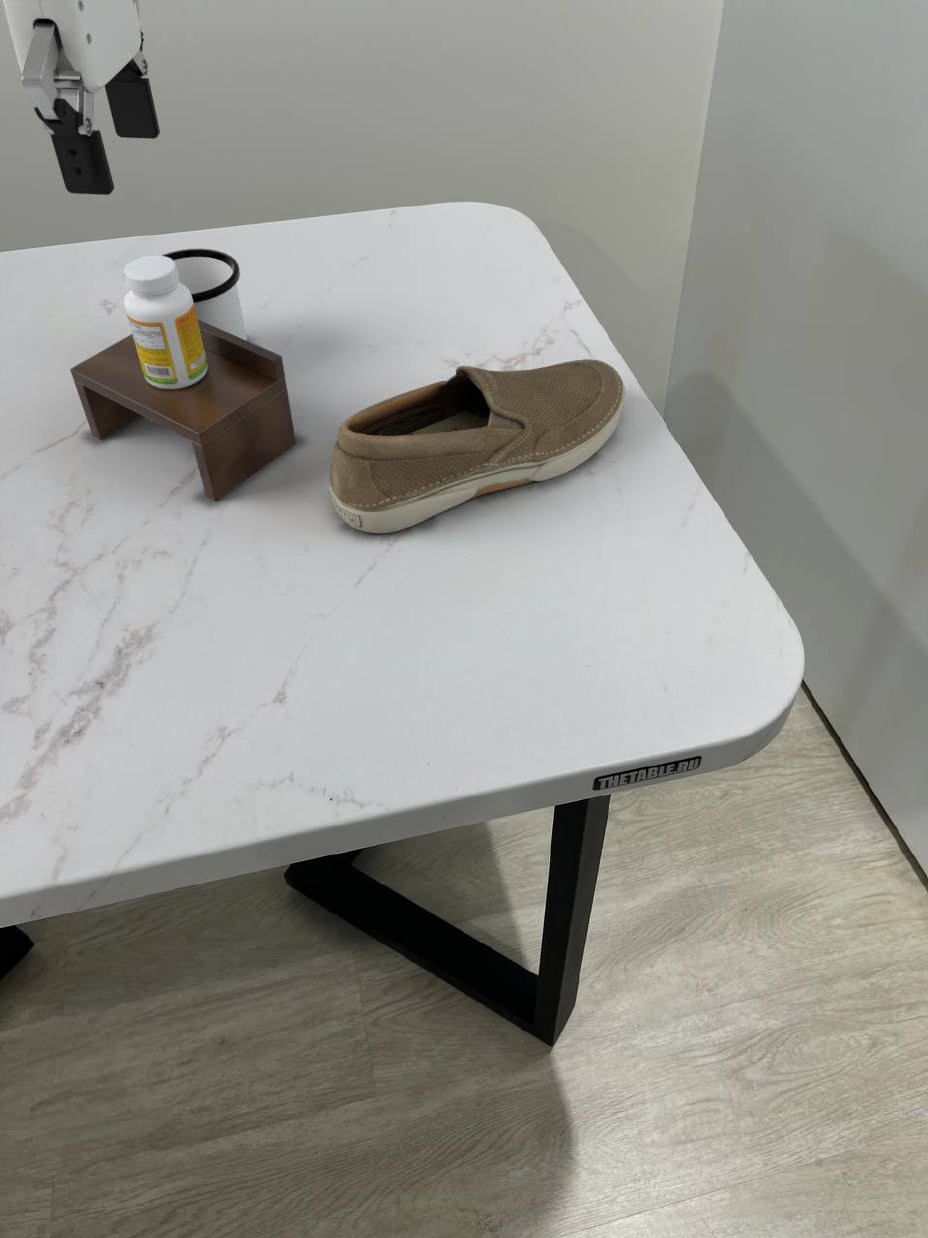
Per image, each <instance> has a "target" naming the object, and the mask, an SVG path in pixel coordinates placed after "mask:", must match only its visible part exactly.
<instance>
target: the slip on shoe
mask: <svg viewBox="0 0 928 1238" xmlns="http://www.w3.org/2000/svg"><path fill="white" fill-rule="evenodd" d="M624 383H625V382H624V381H623V379H622V377H621V376H620V374H619V372H618V371H617V370H616V368H615V367H613V366H611V365H610V364H608V363H607V362H605V361H602V360H598V359H589V358H587V359H586V358H585V359H575V360H571V361H565V362H559V363H555V364H551V365H548V366H543V367H537V368H532V369H521V370H519V369H518V370H509V371H508V370H505V371H503V370H501V371H500V370H489V369H484V368H480V367H475V366H471V365H460V366H458V367H457V368H456V369H455V374H454V375H452V376H451V377H449V378H448V379H447V380H440V381H437V382H433V383H431V384H428V385H424V386H421V387H417V388H415V389H412V390H408V391H406V392H402V393H400V394H397V395H394V396H392V397H389V398H387V399H385V400H382V401H379V402H377V403H374V404H372V405H370V406H367V407H365V408H363V409H362V410H360V411H357V412H356V413H354V414H353V415H350V416H349V417H348V418H346V419H345V420H344V421H343V422H342V423H341V425H340V427H339V429H338V431H337V440H336V441H335V443H334V445H333V448H332V453H331V459H330V460H331V461H330V465H329V466H330V467H329V473H328V479H329V487H328V488H329V491H330V498H331V501H332V504H333V507H334V509H335V511H336V512H337V514H338V515H339V516H340V518H341V519H342V520H343V521H344V522H345V523H346V524H348V525H349V526H350V527H351V528H353V529H356V530H358V531H361V532H365V533H370V534H388V533H396V532H399V531H403V530H405V529H408V528H411V527H413V526H415V525H418V524H420V523H422V522H424V521H426V520H428V519H430V518H432V517H434V516H436V515H438V514H440V513H443V512H445V511H447V510H449V509H451V508H454V507H456V506H458V505H461V504H463V503H464V502H467V501H468V500H471V499H474V498H477V497H479V496H483V495H485V494H490V493H493V492H498V491H502V490H507V489H510V488H513V487H517V486H521V485H525V484H530V483H531V482H543V481H548V480H550V479H554V478H556V477H559V476H562V475H564V474H566V473H568V472H571V471H572V470H573V469H576V468H577V467H578V466H580V465H582V464H583V463H584V462H587V460H588V459H590V458H591V457H592V456H593V455H595V454H596V453H597V452H598V451H599V450H600V449H601V448H603V446H604V445H605V444H606V443H607V441H608V440H610V438H611V436H612V435H613V433H614V432H615V430H616V428H617V427H618V425H619V422H620V420H621V417H622V414H623V410H624V407H625V399H626V387H625V384H624Z"/></svg>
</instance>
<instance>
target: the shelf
mask: <svg viewBox="0 0 928 1238" xmlns="http://www.w3.org/2000/svg"><path fill="white" fill-rule="evenodd" d="M197 320H198V319H197ZM198 325H199V329H200V334H201V338H202V342H203V347H204V351H205V355H206V360H207V372H206V374H205V375H204V377H203V378H202V379H200V380H199V381H198V382H196V383H194V384H192V385H190V386H187V387H184V388H180V389H161V388H158V387H155V386H153V385H151V384H150V383H148V382H147V380H146V379H145V376H144V373H143V370H142V367H141V363H140V359H139V356H138V352H137V349H136V345H135V342H134V338H133V335H132V333H131V334H129V335H128V336H126V337H124V338H122V339H121V340H119V341H116V342H115V343H113V344H112V345H109V346H108V347H106V348H105V349H103V350H101V351H100V352H97V353H95V354H94V355H92V356H90V357H88V358H86V359H85V360H83V361H82V362H80V363H78V364H76V365H74V366H73V367H71V368H70V369H69V371H70V374H71V376H72V377H71V378H72V380H73V383H74V386H75V389H76V391H77V394H78V396H79V400H80V403H81V406H82V409H83V412H84V414H85V418H86V421H87V424H88V427H89V429H90V432H91V435H92V436H93V437H95V438H96V439H98V440H103V439H104V438H106V437H107V436H109V435H110V434H112V433H115V431H117V430H118V429H120V428H122V427H123V426H125V425H127V424H128V423H129V422H132V421H133V420H134V419H137V417H139V416H142V417H144V418H146V419H148V420H149V421H151V422H154V423H156V424H158V425H160V426H162V427H164V428H166V429H168V430H169V431H172V432H174V433H176V434H178V435H179V436H181V437H183V438H185V439H187V440H189V441H191V444H192V448H193V452H194V456H195V459H196V462H197V468H198V471H199V475H200V480H201V483H202V487H203V491H204V494H205V497H206V498H208V499H209V500H212V501H214V502H217V501H218V500H219V499H221V498H223V496H225V495H226V494H228V493H230V492H231V491H232V490H233V489H234V488H237V486H239V485H240V484H242V483H243V482H244V481H246V480H247V479H248V478H250V477H251V476H253V475H254V474H256V473H257V472H258V471H260V470H261V469H262V468H264V467H265V466H266V465H268V464H269V463H270V462H272V461H273V460H275V459H276V458H278V457H279V456H280V455H282V454H283V453H284V452H286V451H287V450H289V449H290V448H291V447H292V446H294V445H295V444H296V443H297V440H296V434H295V429H294V423H293V416H292V411H291V404H290V398H289V392H288V387H287V380H286V375H285V374H286V373H285V367H284V361H283V356H282V355H280V354H279V353H276V352H274V351H271V350H269V349H266V348H265V347H263V346H259V345H258V344H255V343H253V342H251V341H249V340H247V341H246V340H244V339H242V338H239V337H237V336H235V335H232V334H230V333H228V332H226V331H223V330H221V329H219V328H216V327H214V326H212V325H210V324H207V323H205V322H203V321H200V320H198Z"/></svg>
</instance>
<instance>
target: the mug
mask: <svg viewBox="0 0 928 1238" xmlns="http://www.w3.org/2000/svg"><path fill="white" fill-rule="evenodd" d="M160 256H165V257H168V258H170V259H172V260H173V261H174V262H175V264H176V268H177V272H178V275H179V283H181V284H183V285H184V286H186V287H187V288H188V289H189V291H190V293H191V295H192V299H193V302H194V307H195V311H196V316H197V319H198V320H200V321H203V322H205V323H207V324H210V325H212V326H214V327H216V328H219V329H221V330H223V331H226V332H228V333H230V334H232V335H235V336H237V337H239V338H242V339H244V340H246V341H248V338H247V333H246V327H245V322H244V317H243V311H242V307H241V301H240V297H239V290H238V286H237V283H238V281H239V280H240V276H241V269H240V266H239V263H238V261H237V260H236V259H235V258H234V257H233V256H232V255H229V254H228V253H225V252H223V251H220V250H216V249H210V248H186V249H180V250H174V251H170V252H167V253H164V254H161V255H160Z"/></svg>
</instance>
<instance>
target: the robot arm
mask: <svg viewBox="0 0 928 1238" xmlns="http://www.w3.org/2000/svg"><path fill="white" fill-rule="evenodd" d="M2 3H3V7H4V12H5V15H6V20H7V23H8V24H7V25H8V29H9V33H10V37H11V39H12V44H13V48H14V51H15V52H14V53H15V55H16V59H17V63H18V66H19V69H20V73H21V84H22V87H23V89H24V91H25V92H26V94H27V96H28V98H29V99H30V100H31V103H32V104H33V106H34V107H33V109H34V112H35V114H36V116H37V117H38V119H39V120H40V121H41V122H42V123H43V128H44V131H45V133H46V134H47V135H49V136H50V139H51V142H52V146H53V149H54V152H55V156H56V159H57V162H58V166H59V170H60V174H61V177H62V180H63V184H64V187H65V189H66V191H67V192H68V193H70V194H75V195H76V194H78V195H101V196H102V195H103V196H109V195H111V194H112V192H113V191H114V190H115V184H114V179H113V175H112V173H111V169H110V165H109V161H108V157H107V153H106V149H105V145H104V141H103V137H102V133H101V130H100V129H94V100H95V98H94V97H95V93H97V92H99V91H100V90H101V89H103V88H104V89H105V95H106V99H107V102H108V106H109V111H110V115H111V118H112V122H113V123H112V124H113V126H114V131H115V134H116V135H117V136H118V137H120V138H122V139H123V138H125V139H148V140H149V139H150V140H151V139H152V140H153V139H155V140H156V139H157V138H158V137H159V136H160V135H161V129H160V125H159V120H158V116H157V110H156V107H155V102H154V98H153V97H154V96H153V93H152V88H151V87H152V86H151V83H150V78H149V77H148V75H149V63H148V60H147V58H146V57H145V55H144V54H143V45H144V41H145V38H144V32H142V31H143V30H142V29H141V25H140V24H141V23H140V11H139V9H140V8H139V0H2ZM60 76H61V77H79V79H75V78H74V79H73V78H60ZM62 96H69V97H77V99H76V109H75V108H74V107H73V106H72V105H71V104H70V103H69V102H68V100H67V99H65V98H63V97H62Z"/></svg>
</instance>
